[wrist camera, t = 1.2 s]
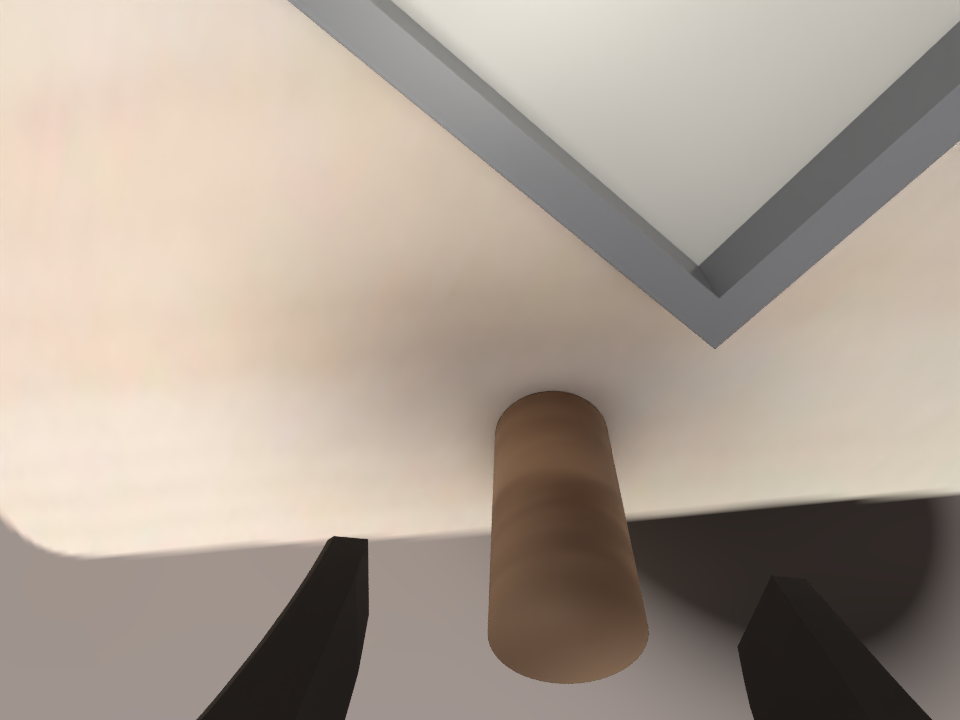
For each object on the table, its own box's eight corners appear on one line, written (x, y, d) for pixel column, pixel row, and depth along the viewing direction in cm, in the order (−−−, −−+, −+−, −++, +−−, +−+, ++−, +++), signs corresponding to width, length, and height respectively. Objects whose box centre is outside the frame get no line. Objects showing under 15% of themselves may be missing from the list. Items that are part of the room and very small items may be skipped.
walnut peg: (631, 432, 23) (683, 632, 16) (555, 496, 24) (572, 701, 17) (545, 371, 21) (562, 558, 15) (472, 442, 23) (456, 640, 16)
